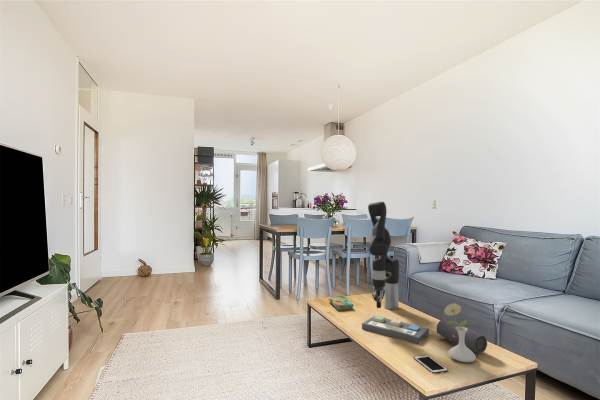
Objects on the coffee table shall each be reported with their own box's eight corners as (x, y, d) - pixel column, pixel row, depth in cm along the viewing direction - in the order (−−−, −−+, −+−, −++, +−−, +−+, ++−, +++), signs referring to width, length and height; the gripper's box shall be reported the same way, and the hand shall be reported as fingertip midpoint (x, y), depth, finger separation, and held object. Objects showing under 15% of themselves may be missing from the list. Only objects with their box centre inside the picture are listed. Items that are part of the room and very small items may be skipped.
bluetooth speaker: (435, 339, 169) (435, 319, 170) (448, 336, 173) (448, 317, 173) (474, 357, 149) (473, 336, 149) (488, 354, 152) (487, 332, 152)
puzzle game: (336, 304, 215) (328, 295, 234) (336, 311, 215) (328, 302, 234) (353, 303, 217) (343, 294, 237) (353, 310, 217) (343, 301, 237)
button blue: (410, 331, 179) (410, 324, 179) (420, 333, 175) (420, 327, 176) (407, 334, 175) (407, 327, 175) (416, 336, 172) (416, 329, 172)
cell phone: (427, 356, 151) (427, 354, 151) (449, 372, 136) (449, 370, 136) (412, 358, 149) (412, 356, 149) (433, 374, 135) (433, 372, 135)
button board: (374, 320, 196) (374, 314, 196) (428, 333, 176) (428, 327, 176) (361, 328, 184) (361, 322, 184) (418, 343, 164) (418, 336, 164)
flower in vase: (473, 355, 151) (473, 301, 151) (478, 366, 140) (477, 308, 141) (443, 351, 155) (442, 298, 156) (445, 362, 145) (445, 306, 145)
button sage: (377, 321, 191) (377, 315, 191) (385, 323, 188) (385, 317, 188) (373, 323, 187) (373, 317, 187) (381, 325, 184) (381, 319, 184)
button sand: (393, 325, 185) (393, 318, 185) (402, 327, 182) (402, 320, 182) (389, 327, 181) (389, 321, 181) (398, 329, 178) (398, 323, 178)
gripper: (377, 275, 196) (377, 303, 195) (367, 278, 185) (367, 309, 185) (389, 276, 191) (389, 306, 191) (379, 280, 181) (379, 312, 180)
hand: (378, 307), depth 188 cm, fingers closed
